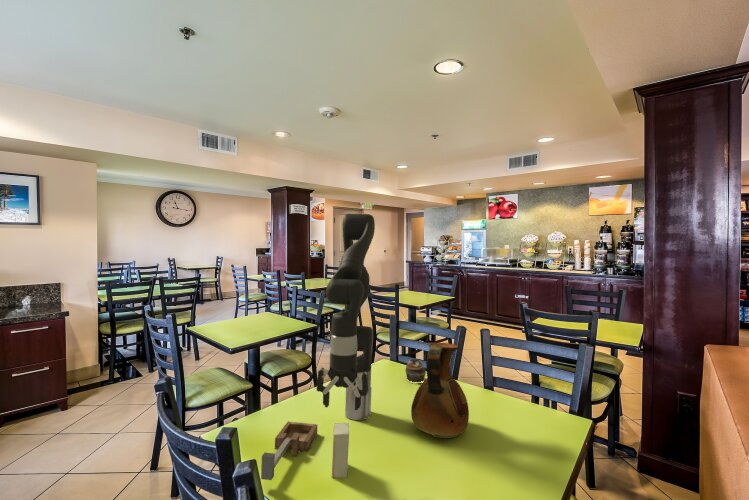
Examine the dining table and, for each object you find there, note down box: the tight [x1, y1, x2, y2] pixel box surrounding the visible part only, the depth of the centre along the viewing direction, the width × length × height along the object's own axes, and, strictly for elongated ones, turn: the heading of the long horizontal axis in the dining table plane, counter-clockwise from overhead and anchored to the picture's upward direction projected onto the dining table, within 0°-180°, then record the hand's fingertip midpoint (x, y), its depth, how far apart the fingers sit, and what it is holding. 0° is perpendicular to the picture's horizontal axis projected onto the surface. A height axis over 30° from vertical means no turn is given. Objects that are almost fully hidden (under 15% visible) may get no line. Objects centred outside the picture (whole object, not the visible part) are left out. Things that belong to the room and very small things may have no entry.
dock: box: [274, 420, 318, 458], centre depth 111 cm, size 10×13×5 cm
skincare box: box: [331, 422, 350, 478], centre depth 99 cm, size 6×4×12 cm
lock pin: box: [260, 439, 291, 481], centre depth 98 cm, size 3×15×6 cm, turn 172°
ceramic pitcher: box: [410, 342, 470, 439], centre depth 122 cm, size 20×20×30 cm
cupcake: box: [405, 357, 427, 382], centre depth 166 cm, size 10×10×10 cm
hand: (341, 407), depth 98 cm, fingers open, 8 cm apart
